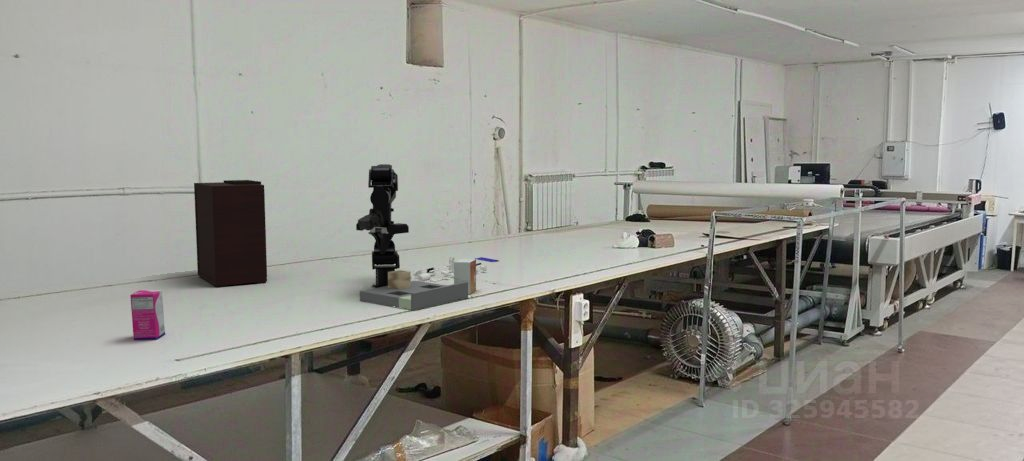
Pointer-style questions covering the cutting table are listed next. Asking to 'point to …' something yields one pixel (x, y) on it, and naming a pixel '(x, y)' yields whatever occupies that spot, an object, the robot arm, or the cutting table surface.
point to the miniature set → (427, 276)
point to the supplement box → (147, 314)
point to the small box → (466, 273)
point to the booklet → (486, 259)
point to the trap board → (416, 295)
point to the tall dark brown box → (231, 232)
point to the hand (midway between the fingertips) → (382, 254)
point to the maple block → (399, 279)
